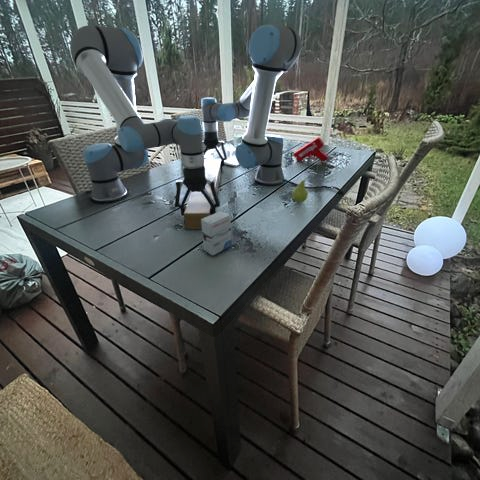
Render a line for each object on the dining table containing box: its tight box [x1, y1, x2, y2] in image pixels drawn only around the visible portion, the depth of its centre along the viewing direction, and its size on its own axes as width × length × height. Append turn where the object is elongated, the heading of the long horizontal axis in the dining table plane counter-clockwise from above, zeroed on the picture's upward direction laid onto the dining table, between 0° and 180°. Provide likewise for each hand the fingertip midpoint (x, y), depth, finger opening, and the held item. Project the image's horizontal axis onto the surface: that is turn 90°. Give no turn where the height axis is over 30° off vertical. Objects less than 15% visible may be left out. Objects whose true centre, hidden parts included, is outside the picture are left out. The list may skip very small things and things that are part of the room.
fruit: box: [291, 174, 311, 204], centre depth 118 cm, size 7×8×12 cm
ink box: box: [201, 210, 232, 257], centre depth 88 cm, size 8×5×12 cm, turn 135°
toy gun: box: [293, 136, 329, 164], centre depth 170 cm, size 18×4×15 cm
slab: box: [183, 159, 222, 230], centre depth 129 cm, size 68×9×7 cm, turn 0°
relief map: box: [204, 142, 241, 167], centre depth 181 cm, size 27×35×5 cm
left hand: (199, 222), depth 105 cm, fingers closed on slab, 9 cm apart
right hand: (213, 171), depth 156 cm, fingers closed on slab, 9 cm apart
